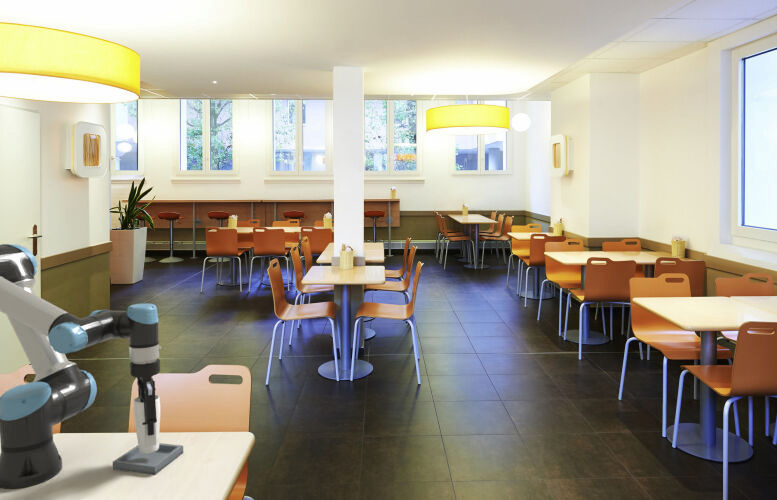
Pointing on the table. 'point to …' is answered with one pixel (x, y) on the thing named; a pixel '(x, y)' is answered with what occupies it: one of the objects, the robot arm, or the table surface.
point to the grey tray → (148, 459)
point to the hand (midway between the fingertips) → (148, 440)
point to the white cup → (140, 429)
